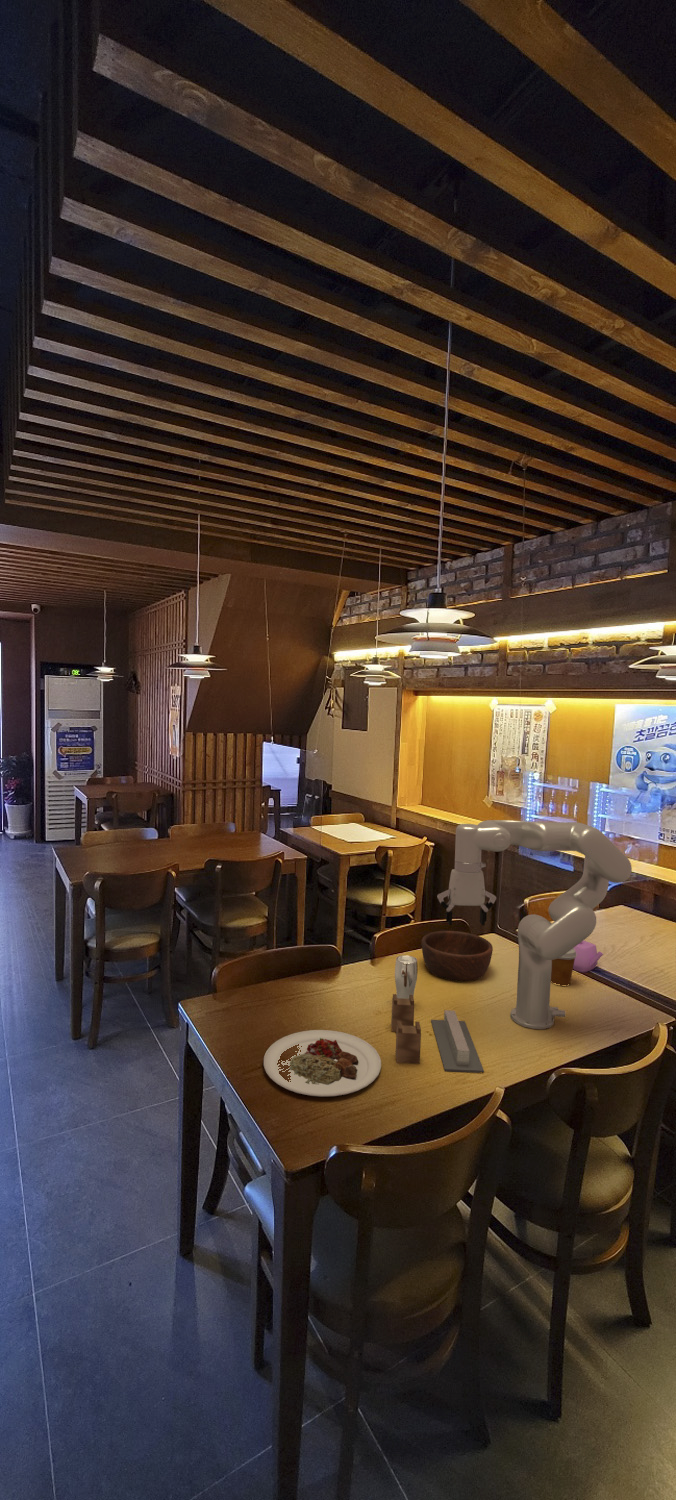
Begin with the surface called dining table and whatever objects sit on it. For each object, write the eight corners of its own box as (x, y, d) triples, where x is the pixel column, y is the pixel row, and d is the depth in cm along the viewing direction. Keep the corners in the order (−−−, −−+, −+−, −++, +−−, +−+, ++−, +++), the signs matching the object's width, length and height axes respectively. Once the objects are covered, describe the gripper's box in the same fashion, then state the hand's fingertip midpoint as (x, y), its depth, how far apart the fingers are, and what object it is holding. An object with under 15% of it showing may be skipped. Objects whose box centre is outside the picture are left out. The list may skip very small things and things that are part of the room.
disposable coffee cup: (577, 981, 219) (579, 947, 219) (571, 991, 211) (573, 956, 211) (549, 974, 224) (551, 941, 224) (542, 983, 216) (544, 949, 216)
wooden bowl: (420, 954, 239) (421, 927, 239) (487, 960, 236) (489, 933, 235) (420, 981, 215) (421, 952, 214) (495, 988, 211) (496, 958, 211)
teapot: (608, 971, 230) (610, 943, 229) (592, 977, 223) (594, 949, 223) (564, 955, 244) (565, 929, 243) (548, 961, 238) (550, 934, 237)
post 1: (411, 1025, 184) (413, 994, 183) (413, 1032, 180) (414, 1001, 179) (391, 1024, 184) (392, 994, 183) (392, 1031, 180) (393, 1000, 179)
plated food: (285, 1114, 141) (285, 1100, 141) (249, 1047, 169) (249, 1035, 169) (402, 1087, 153) (402, 1073, 153) (351, 1028, 181) (351, 1017, 181)
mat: (464, 1023, 186) (464, 1021, 186) (483, 1073, 160) (484, 1070, 160) (431, 1021, 186) (431, 1019, 186) (444, 1071, 160) (444, 1068, 160)
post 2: (418, 1055, 168) (419, 1021, 167) (419, 1063, 164) (421, 1029, 163) (395, 1054, 168) (396, 1020, 167) (396, 1062, 164) (398, 1028, 163)
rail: (454, 1024, 184) (454, 1010, 184) (468, 1065, 162) (469, 1050, 162) (443, 1023, 184) (444, 1010, 184) (456, 1065, 162) (457, 1050, 162)
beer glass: (414, 1013, 191) (417, 964, 191) (392, 1010, 193) (394, 962, 192) (416, 1002, 198) (418, 956, 197) (394, 1000, 200) (396, 953, 199)
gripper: (493, 863, 189) (491, 920, 190) (436, 863, 188) (434, 919, 189) (500, 870, 181) (498, 928, 182) (440, 869, 181) (438, 927, 182)
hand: (465, 923), depth 186 cm, fingers open, 9 cm apart
